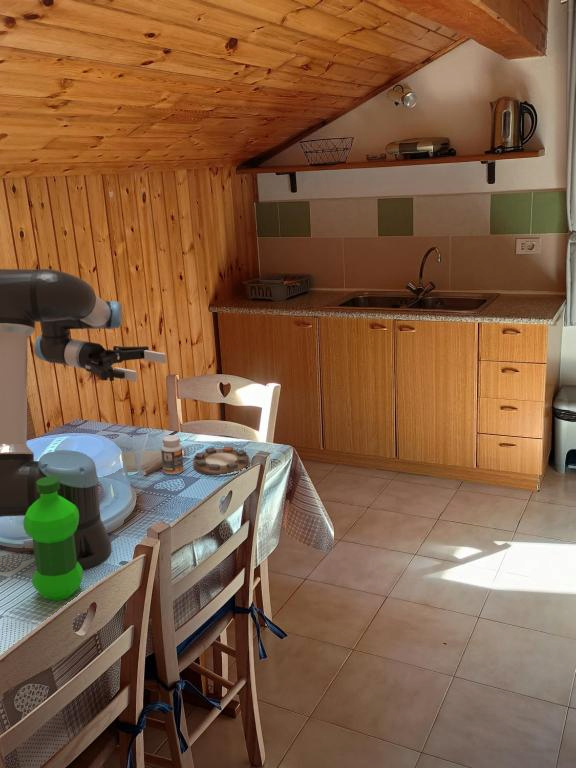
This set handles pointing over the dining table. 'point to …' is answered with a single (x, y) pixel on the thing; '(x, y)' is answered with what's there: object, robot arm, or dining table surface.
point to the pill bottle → (172, 455)
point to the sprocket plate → (220, 461)
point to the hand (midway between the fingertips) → (151, 367)
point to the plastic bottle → (53, 541)
